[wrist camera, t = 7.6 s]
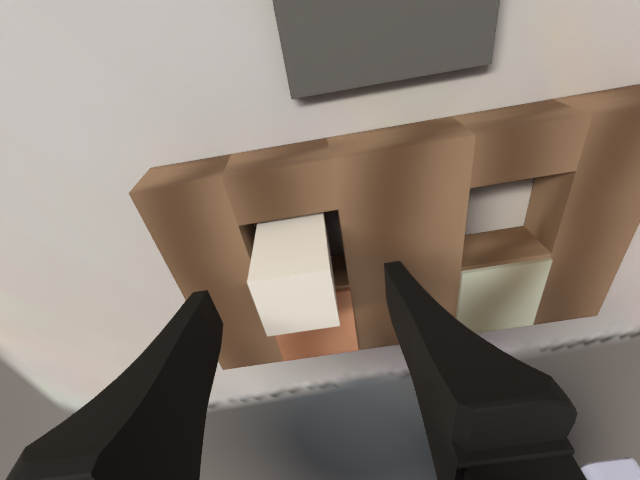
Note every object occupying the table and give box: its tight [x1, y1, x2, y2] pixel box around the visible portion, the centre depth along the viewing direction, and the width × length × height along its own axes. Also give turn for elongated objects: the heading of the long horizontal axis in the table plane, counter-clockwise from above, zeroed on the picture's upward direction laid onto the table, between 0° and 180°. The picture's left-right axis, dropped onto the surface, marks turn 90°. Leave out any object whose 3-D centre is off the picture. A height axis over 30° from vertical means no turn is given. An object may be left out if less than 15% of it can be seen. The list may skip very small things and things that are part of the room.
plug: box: [247, 212, 340, 337], centre depth 16 cm, size 3×3×6 cm
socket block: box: [129, 84, 640, 370], centre depth 18 cm, size 22×12×3 cm, turn 99°
